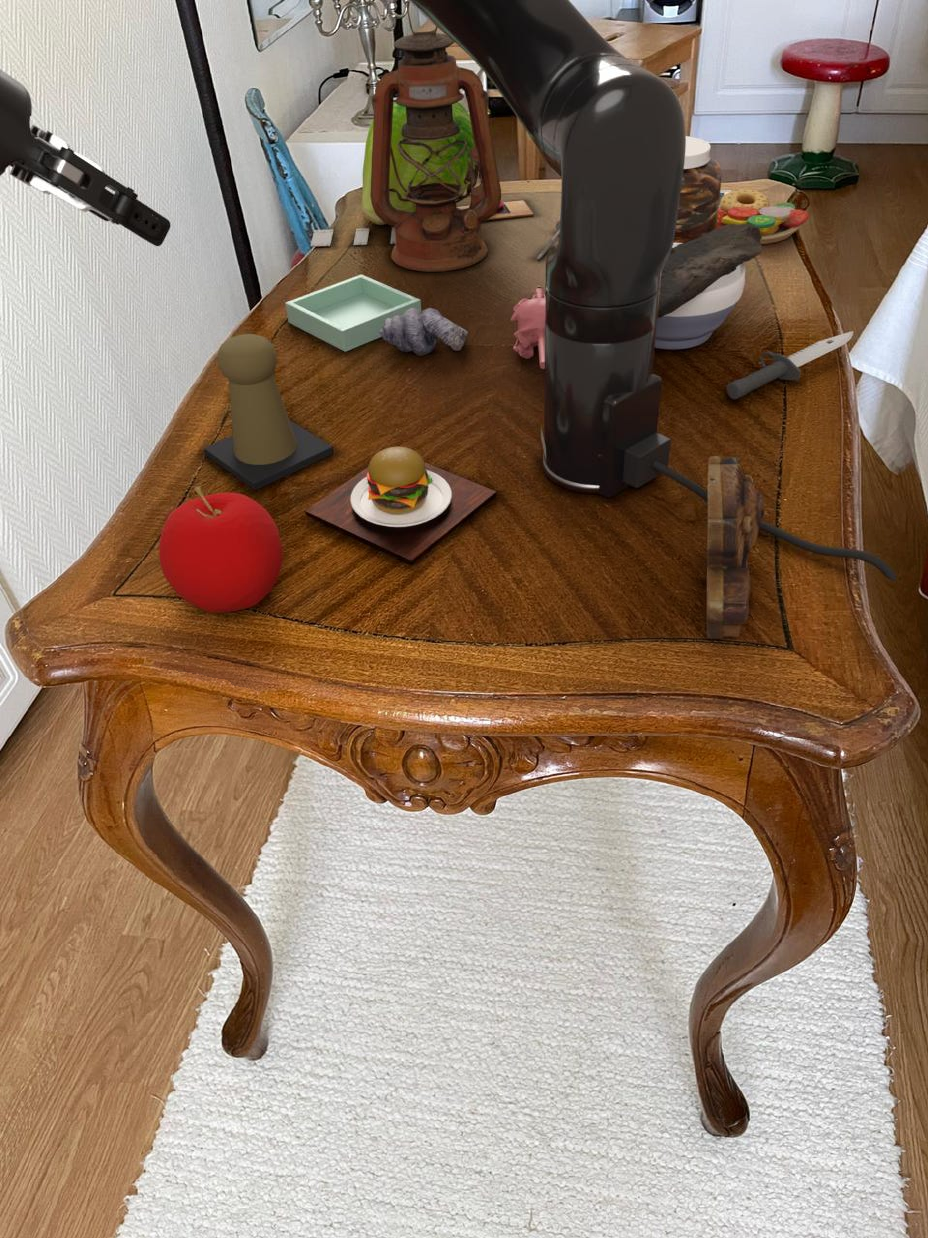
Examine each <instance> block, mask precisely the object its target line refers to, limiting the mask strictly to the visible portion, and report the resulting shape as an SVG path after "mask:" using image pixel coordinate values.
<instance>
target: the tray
mask: <svg viewBox="0 0 928 1238" xmlns="http://www.w3.org/2000/svg"><path fill="white" fill-rule="evenodd" d="M411 308H415V309H417V310H419V311H420V313H421V312H422V302H421V299H420V298H417V297H415V296H413V295H410V294H408V293H405V292H403V291H401V290H399V289H396V288H394V287H391V286H389V285H387V284H385V283H382V282H380V281H377V280H375V279H373V278H371V277H369V276H366V275H364V274H359V275H355V276H354V277H350V278H348V279H346V280H343V281H342V280H341V281H339V282H337V283H334V284H332V285H329V286H326V287H323V288H320V289H318V290H315V291H313V292H310V293H308V294H305V295H301V296H300V297H296V298H294V299H292V300H289V301H286V302H285V311H286V316H287V322H288V323H289V324H291V325H292V326H294V327H296V328H298V329H299V330H302V331H304V332H306V333H308V334H310V335H312V336H314V337H316V338H317V339H319V340H321V341H323V342H325V343H327V344H329V345H331V346H333V347H334V348H337V349H339V350H341V351H343V352H344V353H346V352H348V351H351V350H353V349H355V348H358V347H360V346H362V345H365V344H368V343H369V342H373V341H374V340H377V339H380V338H382V336H381V335H380V333H379V331H380V329H381V328H382V327H383V326H384V322H385V320H386V319H387V318H393V317H394V316H397V315H398V316H402V315H403V314H404V313H405V312H406V311H407V310H408V309H411Z"/></svg>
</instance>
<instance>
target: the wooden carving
mask: <svg viewBox="0 0 928 1238" xmlns="http://www.w3.org/2000/svg"><path fill="white" fill-rule="evenodd" d="M739 459H740V458H738V457H737V456H731V457H730V456H729V457H723V458H721V457H720V456H719V455H718V456H717V455H714V456H710V457H709V458H708V463H707V492H708V503H707V530H706V531H707V538H706V541H707V542H706V543H707V544H706V545H707V547H706V555H707V556H706V557H707V558H706V637H707V639H723V638H725V637H726V638H727V637H729V638H730V637H731V638H740V633H741V625H745V624H746V623H747V620H748V618H749V612H750V604H749V598H750V594H751V593H750V592H751V583H752V582H751V576H750V570H749V568H748V567H749V565H748V564H749V552H751V551H752V549H753V547H754V546H755V543H756V542H757V539H758V534H759V530H760V529H759V525H760V524H761V523H762V521H764V518H765V511H766V510H765V509H766V507H765V506H766V505H765V499H764V496H763V494H762V493H760V492H758V491H757V490H756V489H755V483H754V479H753V476H752V475H750V474H744V473H743V469H742V466H741V465H740V460H739Z"/></svg>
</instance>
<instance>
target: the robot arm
mask: <svg viewBox="0 0 928 1238" xmlns="http://www.w3.org/2000/svg"><path fill="white" fill-rule="evenodd" d="M408 1H409V2H410V3H409V4H411V5H412V6H413V7H414V8H415V9H416V10H417V11H418V12H419V13H421V15H422V16H424V17H425V18H426V19H427V20H428V21H429V22H430V23H431V24H433V25H434V26H435V28H436V27H437V29H438V30H440V31H441V32H443V33H442V34H445V35H447V36H448V37H449V38H450V39H452V40H453V41H454V44H456V45H458V47H460V49H462V50H463V51H464V52H465V53H466V54H467V55H468V56H469V57H470V58H471V59H472V60H473V61H474V62H475V64H476V65H478V67H479V68H480V69H481V70H482V71H483V73H484V74H485V75H486V77H487V78H488V79H489V80H490V82H491V83H492V84H493V85H494V87H495V89H496V90H497V91H498V92H499V94H500V95H501V97H502V98H503V99H504V101H505V102H506V103H507V105H508V106H509V108H510V109H511V110H512V112H513V113H514V115H515V116H516V118H517V119H518V121H519V122H520V124H521V125H522V126H523V128H524V129H525V132H526V133H527V134H528V135H529V137H530V139H531V140H532V141H533V144H534V145H535V146H536V148H537V149H538V151H539V153H540V155H541V156H542V158H543V160H544V161H545V162H546V164H547V165H548V166H549V168H550V169H551V171H552V172H553V173H555V175H556V176H557V177H558V178H560V180H561V192H560V195H561V196H560V219H559V221H560V234H559V235H558V240H557V241H555V243H553V244H552V245H551V246H550V247H549V249H548V250H547V254H546V258H545V293H544V294H545V369H544V393H543V394H544V395H543V397H544V402H543V404H544V405H543V406H544V409H543V410H544V412H543V413H544V414H543V429H542V427H540V441H541V445H542V449H543V455H542V469H543V472H544V474H545V475H546V477H547V479H549V480H550V481H551V482H553V483H554V484H556V485H558V487H561V488H564V489H566V490H570V491H572V492H576V493H582V494H583V493H585V494H596V495H597V494H598V495H601V496H603V497H604V498H606V499H607V498H608V499H610V498H613V497H614V496H615V495H617V494H619V493H621V492H622V491H625V489H627V488H629V487H633V488H635V489H638V488H641V487H642V486H644V485H645V484H646V483H649V482H650V481H651V480H653V479H655V478H656V477H658V476H660V475H661V474H662V475H664V476H666V477H667V478H669V479H671V480H673V481H675V482H676V483H678V484H680V485H682V486H683V487H685V488H687V489H688V490H689V491H691V492H693V493H694V494H695V495H697V496H698V497H700V499H702V500H703V501H704V502H705V503H707V504H708V490H706V488H703V487H702V486H701V485H699V484H698V483H696V482H694V480H691V479H690V478H688V477H686V476H685V475H683V474H681V473H679V472H678V471H676V470H675V469H673V468H671V467H669V461H670V453H671V451H670V450H671V443H672V442H671V441H672V439H671V438H670V437H668V436H666V435H663V434H661V433H659V432H658V427H659V416H660V405H661V394H662V384H663V380H662V379H663V378H662V377H661V376H659V375H657V374H654V363H655V352H656V351H655V350H656V348H655V339H656V327H657V317H658V306H659V294H660V285H661V275H662V269H663V267H664V265H665V263H666V261H667V259H668V257H669V255H670V252H671V250H672V246H673V242H674V237H675V231H676V224H677V216H678V209H679V201H680V194H681V186H682V179H683V170H684V162H685V150H686V136H687V134H686V131H687V129H686V119H685V113H684V110H683V107H682V103H681V101H680V99H679V97H678V95H677V93H675V91H674V89H673V88H671V86H670V85H669V84H668V83H667V82H666V81H664V80H663V79H662V78H661V77H659V76H657V75H656V74H654V73H653V72H651V71H650V70H648V69H646V68H644V67H642V66H641V65H639V64H637V63H636V62H635V61H632V60H630V59H629V58H627V57H626V56H624V54H622V53H621V52H619V50H617V49H615V47H613V45H611V43H609V41H607V39H605V38H604V37H603V36H602V35H601V34H600V33H599V32H598V31H597V30H596V29H595V28H594V26H593V25H592V24H591V23H590V22H589V21H588V20H587V19H586V17H585V16H584V15H583V14H582V13H581V11H579V10H578V8H577V7H576V6H575V5H574V4H573V3H572V1H570V0H407V2H408ZM32 105H33V104H32V98H31V95H30V92H29V91H28V89H27V88H26V86H24V84H22V83H21V82H20V81H19V80H17V79H15V78H14V77H12V75H9V74H8V73H7V72H5V71H4V70H2V69H1V68H0V177H1V176H2V175H3V174H4V173H5V172H6V170H7V168H8V167H11V169H10V172H9V175H10V176H12V177H13V178H14V179H17V180H18V181H20V182H22V183H24V184H25V185H27V186H29V187H33V188H35V189H36V190H38V191H39V192H41V193H42V194H45V195H53V196H55V197H57V198H58V199H60V200H62V201H64V202H65V203H67V204H68V205H70V206H72V207H74V208H76V209H77V210H78V211H80V212H83V213H86V212H90V214H92V215H94V216H96V217H97V218H99V219H101V220H103V221H105V222H109V223H111V224H113V225H117V226H119V225H120V226H122V227H123V228H125V229H126V230H128V231H130V232H132V234H134V235H136V236H138V237H139V238H141V239H143V240H144V241H146V242H147V243H149V244H151V245H153V246H154V247H160V246H162V245H163V243H164V242H165V239H166V237H167V235H168V233H169V231H170V229H171V221H170V220H169V219H168V218H166V217H165V216H163V215H162V214H161V213H159V212H157V211H155V210H154V209H153V208H151V207H150V206H148V205H147V204H145V203H144V202H142V201H141V200H139V199H138V196H139V195H138V194H137V193H136V192H135V190H134V189H133V188H131V187H129V186H127V187H126V186H125V185H123V184H122V183H120V182H119V181H118V180H116V179H114V178H113V177H111V176H110V175H108V174H107V173H106V171H105V170H104V169H103V168H102V166H100V164H98V163H96V162H94V161H92V160H91V159H89V158H88V157H85V156H84V155H82V154H81V153H79V152H77V151H75V150H74V149H72V148H71V146H70V145H69V144H68V143H67V142H66V141H65V140H64V139H62V137H59V136H58V135H57V134H54V133H52V132H51V131H49V130H46V131H45V130H43V129H41V128H40V127H38V126H36V125H34V124H32V125H31V117H32V112H33V106H32ZM106 188H108V189H110V190H111V191H110V190H108V189H106ZM113 192H114V193H113ZM543 430H544V431H543ZM543 433H544V434H543ZM758 530H761V531H762V532H765V533H768V534H770V535H771V536H774V537H776V538H778V539H780V540H782V541H783V542H786V543H787V544H790V545H792V546H794V547H797V548H799V549H802V550H804V551H807V552H810V553H813V554H816V555H821V556H826V557H834V558H835V557H836V558H844V559H845V558H846V559H853V560H854V559H855V560H859V561H862V562H867V563H868V564H871V566H873V567H875V568H876V569H878V571H880V572H881V574H883V576H884V577H885V578H886V579H888V580H891V581H897V580H898V575H897V574H896V573H895V571H894V570H893V569H892V567H891V566H890V565H889V564H888V563H886V561H884V560H883V559H882V558H880V557H879V556H877V555H875V554H872V553H871V552H868V551H864V550H859V549H852V548H843V547H834V546H825V545H821V544H818V543H814V542H810V541H808V540H806V539H803V538H800V537H799V536H795V535H794V534H792V533H790V532H788V531H785V530H783V529H782V528H780V527H777V526H775V525H773V524H771V523H768V522H766V521H764V520H763V521H762V523H761V524H760V525H759V529H758Z"/></svg>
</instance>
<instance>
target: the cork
mask: <svg viewBox="0 0 928 1238" xmlns="http://www.w3.org/2000/svg"><path fill="white" fill-rule="evenodd" d="M277 361H278V358H277V352H276V349H275V347H274V345H273V343H271V341H270V340H269V339H268V338H266V336H262V335H259V334H254V333H244V334H238V335H235V336H232V337H230V338H227V339H226V340H225V341H223V343H221V345H220V347H219V349H218V351H217V363H218V368H219V370H220V373H222V375H223V377H225V378H226V380H228V391H229V392H228V393H229V404H230V406H229V407H230V417H231V428H232V429H231V430H232V435H233V443H234V453H235V456H236V458H237V459H238V460H240V461H242V462H244V463H247V464H253V465H265V464H271V463H275V462H278V461H281V460H284V459H285V458H287V457H289V456H290V455H291V454H292V453H293V452H294V451H295V450H296V447H297V442H296V439H295V436H294V433H293V430H292V427H291V424H290V421H289V420H290V419H289V415H288V413H287V410H286V406H285V403H284V400H283V398H282V394H281V392H280V389H279V386H278V382H277V379H276V376H275V370H276V367H277Z"/></svg>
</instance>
